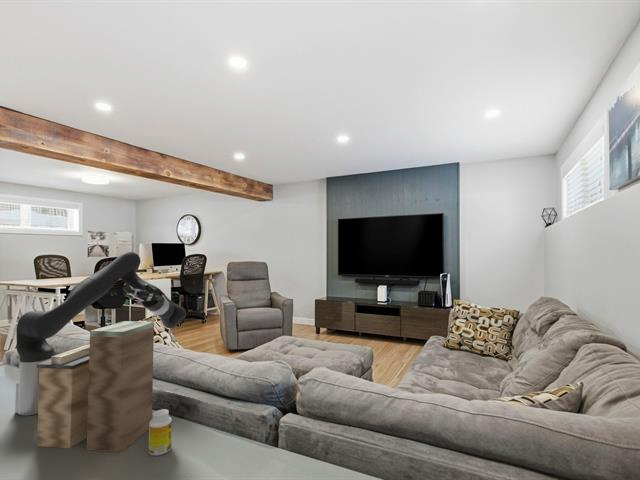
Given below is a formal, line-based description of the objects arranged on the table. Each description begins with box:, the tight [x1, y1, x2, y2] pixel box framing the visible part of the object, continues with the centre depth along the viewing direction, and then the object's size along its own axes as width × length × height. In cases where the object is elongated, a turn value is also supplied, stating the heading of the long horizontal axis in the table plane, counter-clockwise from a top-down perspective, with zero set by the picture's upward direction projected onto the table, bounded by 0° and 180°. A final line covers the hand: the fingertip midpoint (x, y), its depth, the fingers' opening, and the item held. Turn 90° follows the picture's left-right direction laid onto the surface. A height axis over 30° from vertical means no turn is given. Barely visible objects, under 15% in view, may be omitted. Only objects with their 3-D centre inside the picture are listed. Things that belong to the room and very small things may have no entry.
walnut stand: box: [86, 320, 155, 453], centre depth 102 cm, size 10×14×32 cm
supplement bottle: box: [148, 408, 173, 456], centre depth 95 cm, size 6×6×10 cm
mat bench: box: [36, 354, 89, 449], centre depth 105 cm, size 11×17×22 cm, turn 173°
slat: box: [51, 343, 90, 364], centre depth 108 cm, size 3×22×2 cm, turn 173°
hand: (134, 286), depth 131 cm, fingers open, 8 cm apart
